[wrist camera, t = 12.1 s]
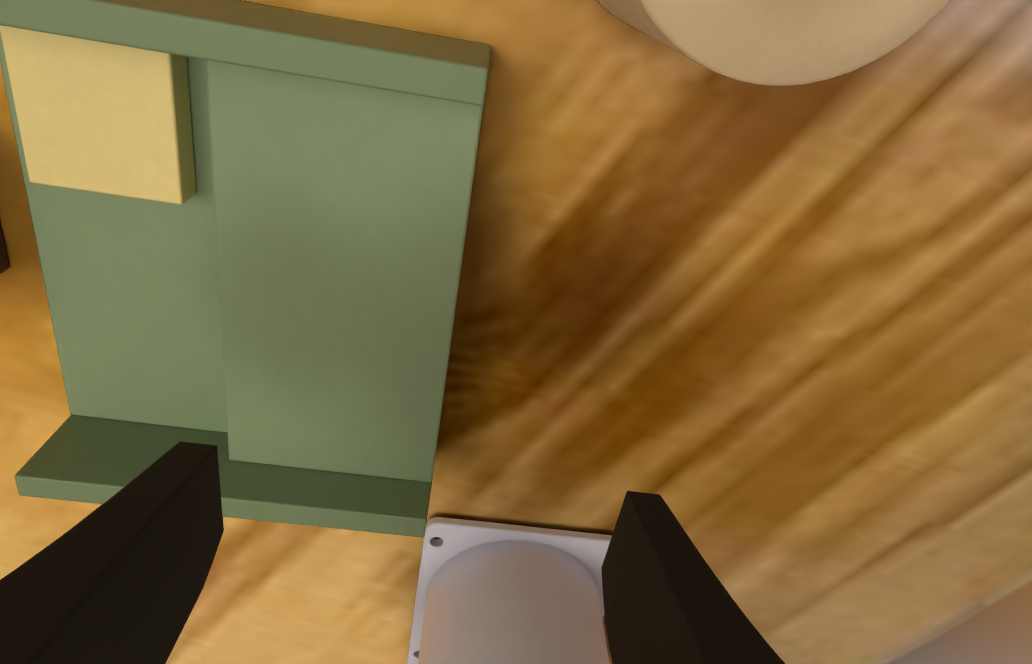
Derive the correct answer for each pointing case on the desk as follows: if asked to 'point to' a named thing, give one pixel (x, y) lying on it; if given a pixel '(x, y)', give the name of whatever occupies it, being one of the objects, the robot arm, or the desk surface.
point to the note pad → (102, 115)
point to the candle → (779, 33)
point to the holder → (3, 255)
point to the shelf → (267, 265)
